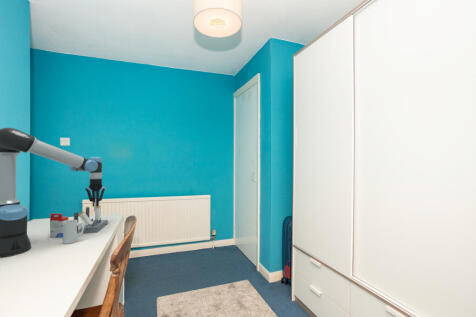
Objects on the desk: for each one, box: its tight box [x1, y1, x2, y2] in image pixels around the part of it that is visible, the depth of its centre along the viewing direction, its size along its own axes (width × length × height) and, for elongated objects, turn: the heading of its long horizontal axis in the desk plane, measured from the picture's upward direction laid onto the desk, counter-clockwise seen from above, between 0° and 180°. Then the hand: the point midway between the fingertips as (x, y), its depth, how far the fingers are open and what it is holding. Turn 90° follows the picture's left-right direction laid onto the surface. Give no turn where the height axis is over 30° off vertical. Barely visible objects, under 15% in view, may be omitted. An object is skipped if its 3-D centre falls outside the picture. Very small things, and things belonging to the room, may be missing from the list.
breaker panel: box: [79, 217, 109, 234], centre depth 158 cm, size 21×10×5 cm, turn 13°
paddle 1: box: [78, 211, 93, 226], centre depth 151 cm, size 4×2×10 cm
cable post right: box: [85, 206, 94, 221], centre depth 174 cm, size 11×2×12 cm, turn 13°
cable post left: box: [73, 212, 79, 232], centre depth 150 cm, size 7×2×12 cm, turn 13°
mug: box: [62, 219, 85, 245], centre depth 132 cm, size 10×7×12 cm, turn 118°
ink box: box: [49, 213, 69, 239], centre depth 141 cm, size 8×5×15 cm, turn 84°
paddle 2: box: [94, 205, 102, 221], centre depth 163 cm, size 4×2×10 cm, turn 13°
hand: (95, 210), depth 163 cm, fingers closed
